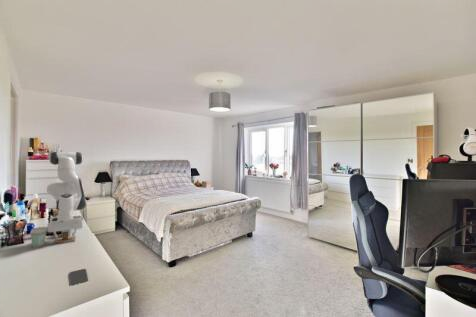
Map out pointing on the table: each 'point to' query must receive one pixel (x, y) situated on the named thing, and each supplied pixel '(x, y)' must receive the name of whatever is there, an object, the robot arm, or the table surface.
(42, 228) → the coffee cup
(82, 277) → the smartphone
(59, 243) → the mat
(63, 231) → the supplement box
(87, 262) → the table surface
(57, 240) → the lid
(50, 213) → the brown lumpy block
